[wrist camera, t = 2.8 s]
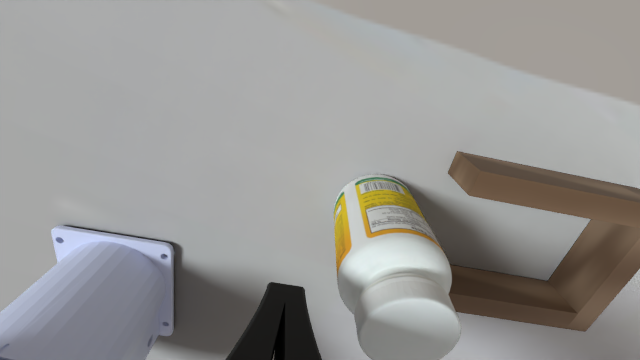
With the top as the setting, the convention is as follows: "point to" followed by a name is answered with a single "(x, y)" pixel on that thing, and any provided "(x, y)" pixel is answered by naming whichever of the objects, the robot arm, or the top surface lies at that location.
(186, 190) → the top surface
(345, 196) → the supplement bottle
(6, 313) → the robot arm
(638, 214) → the u rest
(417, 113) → the top surface
